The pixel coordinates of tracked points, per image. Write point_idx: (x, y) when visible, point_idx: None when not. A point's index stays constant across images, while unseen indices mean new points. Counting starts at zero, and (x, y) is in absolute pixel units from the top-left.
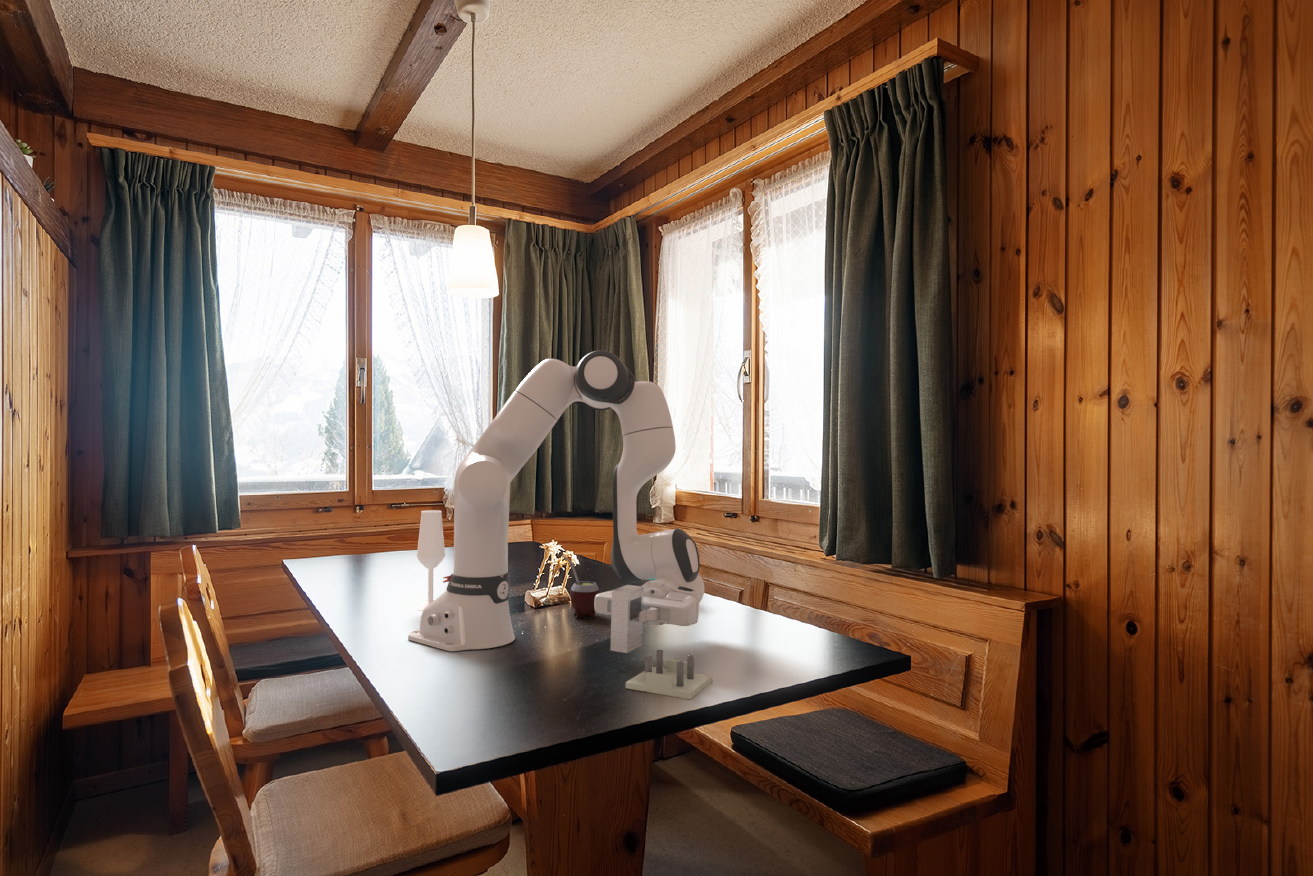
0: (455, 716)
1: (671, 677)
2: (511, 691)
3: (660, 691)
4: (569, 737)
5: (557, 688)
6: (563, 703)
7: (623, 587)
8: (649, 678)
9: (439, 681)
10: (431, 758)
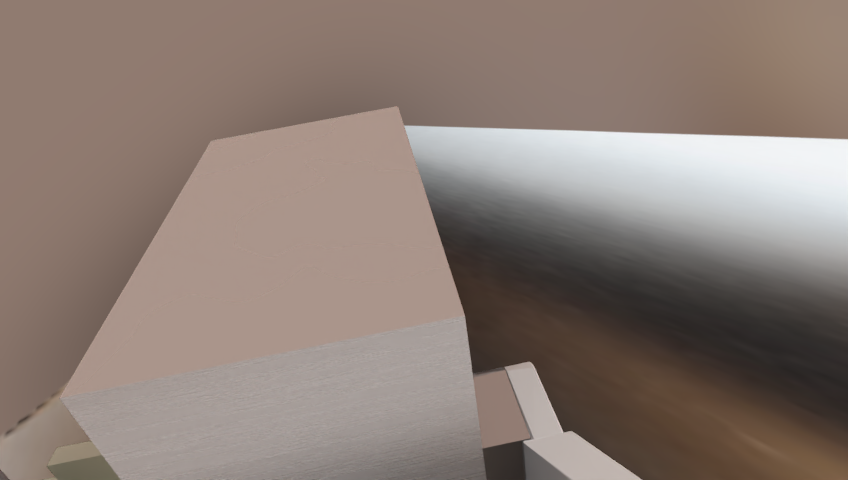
0: (524, 163)
1: (55, 451)
2: (578, 248)
3: None
4: None
5: (503, 317)
6: None
7: (374, 189)
8: None
9: (781, 194)
10: (416, 126)
